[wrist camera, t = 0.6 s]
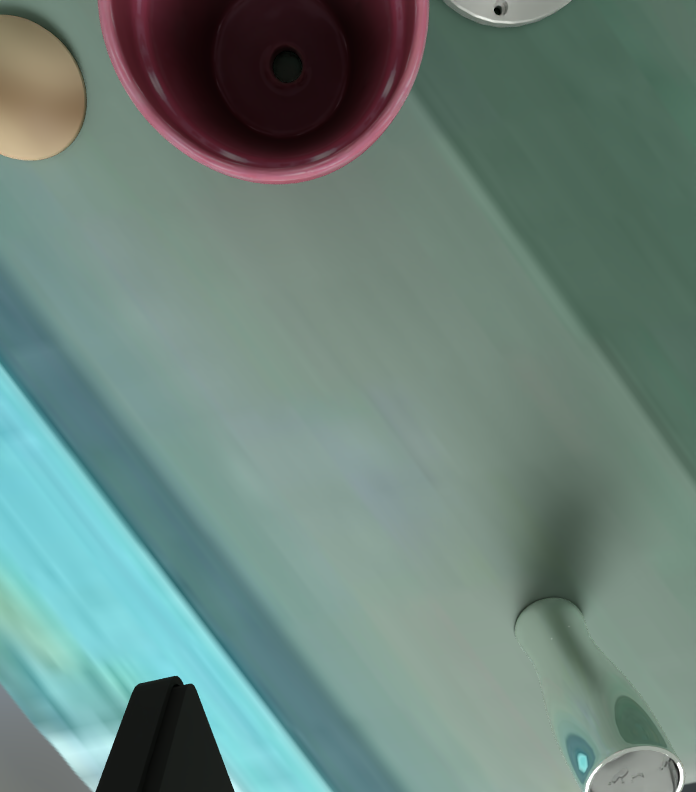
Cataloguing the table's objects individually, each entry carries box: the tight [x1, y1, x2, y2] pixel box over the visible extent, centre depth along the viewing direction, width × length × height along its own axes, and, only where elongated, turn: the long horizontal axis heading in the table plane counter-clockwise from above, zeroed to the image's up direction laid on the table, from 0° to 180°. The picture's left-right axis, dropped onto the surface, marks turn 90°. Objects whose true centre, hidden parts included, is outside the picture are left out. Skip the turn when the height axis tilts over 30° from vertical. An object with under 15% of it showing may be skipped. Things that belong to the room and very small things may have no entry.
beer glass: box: [515, 598, 685, 792], centre depth 45 cm, size 7×7×15 cm
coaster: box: [0, 15, 87, 161], centre depth 37 cm, size 8×8×1 cm
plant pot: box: [98, 0, 429, 184], centre depth 31 cm, size 14×14×13 cm
